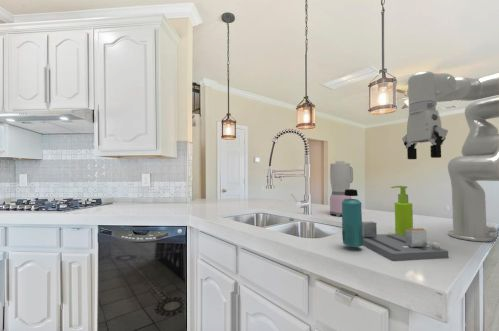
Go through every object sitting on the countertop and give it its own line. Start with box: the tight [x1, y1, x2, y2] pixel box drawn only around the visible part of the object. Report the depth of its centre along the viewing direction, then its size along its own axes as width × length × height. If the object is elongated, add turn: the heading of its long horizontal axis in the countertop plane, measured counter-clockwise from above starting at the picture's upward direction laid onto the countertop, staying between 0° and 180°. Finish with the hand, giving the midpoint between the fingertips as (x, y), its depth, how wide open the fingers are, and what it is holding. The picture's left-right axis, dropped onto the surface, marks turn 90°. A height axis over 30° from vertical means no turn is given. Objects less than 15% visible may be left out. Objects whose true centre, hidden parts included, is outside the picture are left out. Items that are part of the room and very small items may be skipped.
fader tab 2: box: [406, 227, 428, 247], centre depth 75 cm, size 5×2×5 cm, turn 96°
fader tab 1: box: [362, 220, 378, 237], centre depth 86 cm, size 5×2×5 cm, turn 96°
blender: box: [329, 160, 354, 218], centre depth 141 cm, size 16×12×32 cm
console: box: [362, 233, 449, 262], centre depth 79 cm, size 18×20×4 cm
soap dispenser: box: [390, 185, 414, 236], centre depth 94 cm, size 6×7×20 cm
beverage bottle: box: [341, 188, 363, 248], centre depth 80 cm, size 6×7×20 cm
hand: (423, 158), depth 81 cm, fingers open, 9 cm apart
